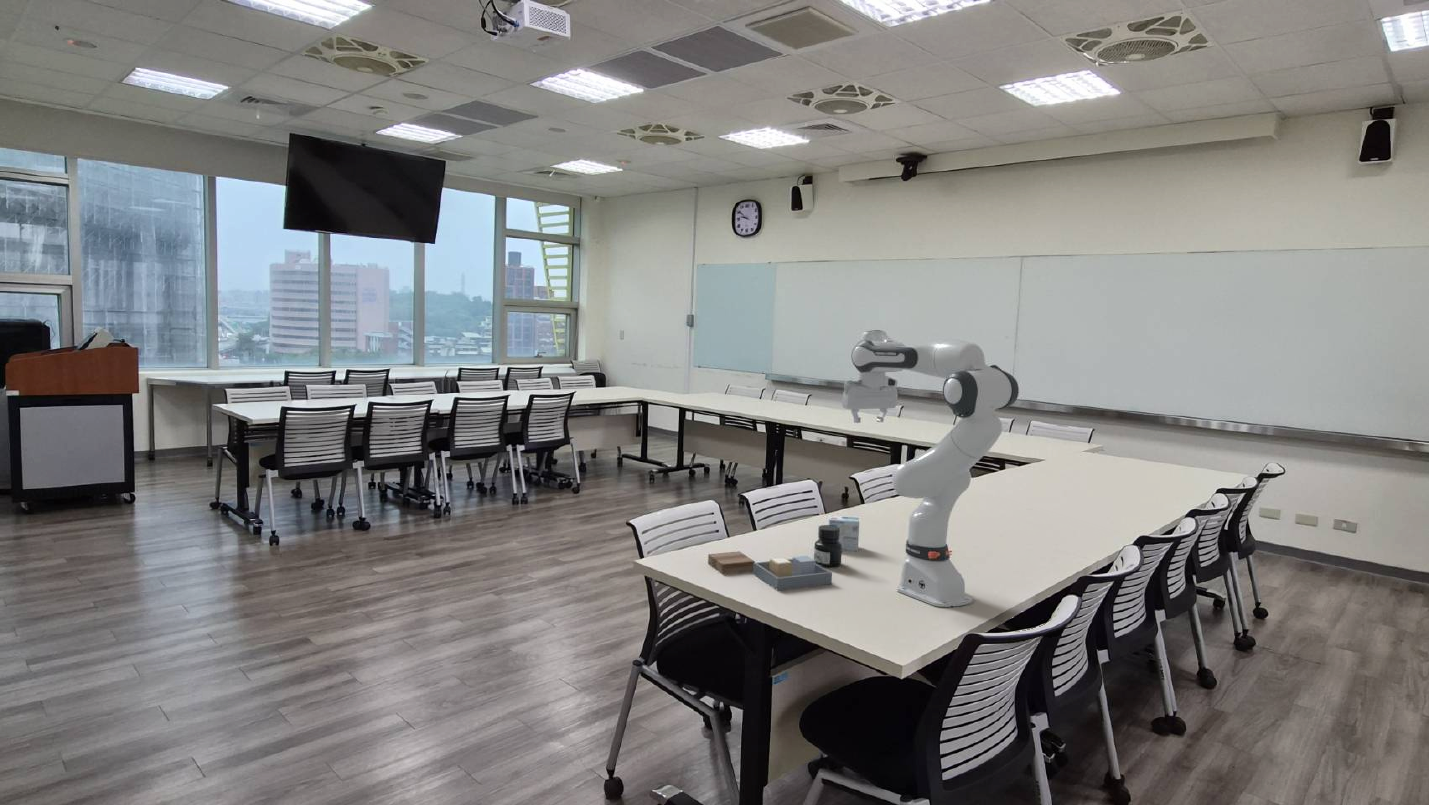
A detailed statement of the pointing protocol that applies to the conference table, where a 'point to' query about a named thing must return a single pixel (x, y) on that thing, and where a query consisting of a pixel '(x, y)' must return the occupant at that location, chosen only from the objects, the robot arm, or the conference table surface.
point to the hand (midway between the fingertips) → (868, 422)
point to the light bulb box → (847, 531)
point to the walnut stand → (730, 562)
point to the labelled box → (780, 567)
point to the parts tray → (792, 577)
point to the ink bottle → (828, 546)
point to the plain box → (803, 566)
